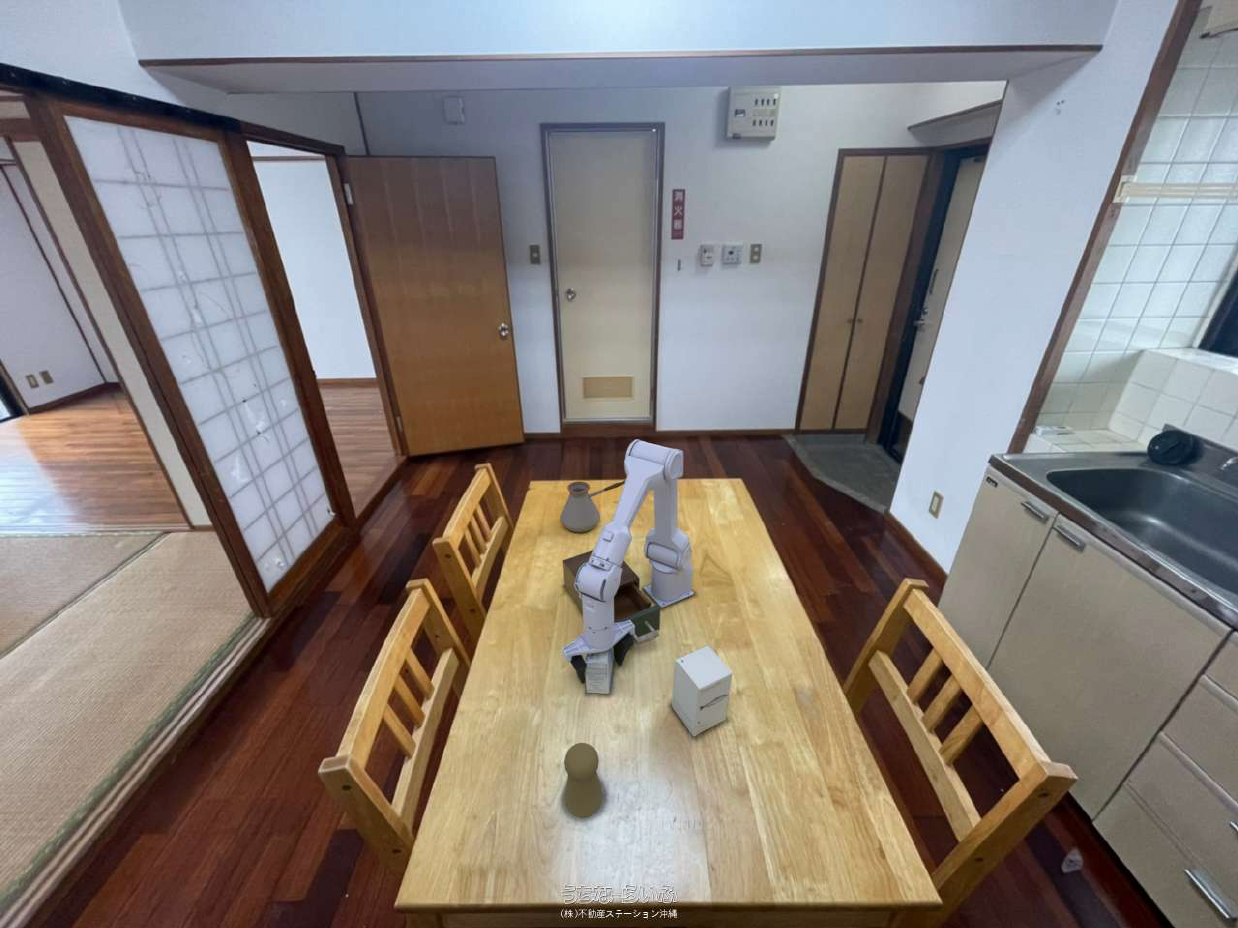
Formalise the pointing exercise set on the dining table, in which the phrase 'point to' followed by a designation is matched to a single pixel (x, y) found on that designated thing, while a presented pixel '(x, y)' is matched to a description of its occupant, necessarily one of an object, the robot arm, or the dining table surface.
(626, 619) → the drawer
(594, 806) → the brown pawn figure
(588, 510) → the coffee pot
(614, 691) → the dining table surface
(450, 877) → the dining table surface
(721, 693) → the white packaging box
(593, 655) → the medicine box
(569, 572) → the cabinet
